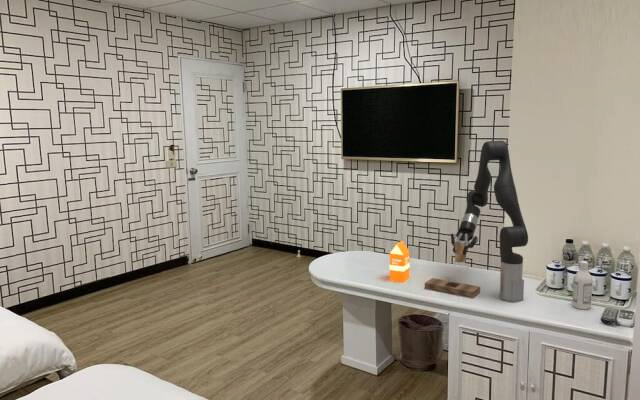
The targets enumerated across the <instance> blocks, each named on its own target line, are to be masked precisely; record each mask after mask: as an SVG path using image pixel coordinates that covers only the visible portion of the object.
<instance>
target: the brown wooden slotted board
mask: <svg viewBox="0 0 640 400" xmlns="http://www.w3.org/2000/svg"><path fill="white" fill-rule="evenodd" d="M424 290H428V291H433V292H440V293H444V294H449V295H453V296H458V297H459V296H460V297H465V298H469V299H474V298H476V297H477V296H478V295H479V294H480V293H481V286H478V285H473V284H467V283H462V282H456V281H451V280H445V279H440V278H434V277H432V278H430V279H428V280H426V281H425V282H424Z"/></svg>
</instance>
